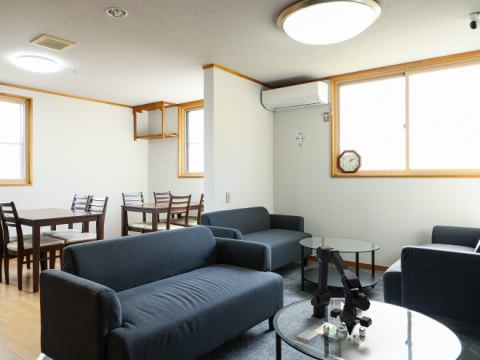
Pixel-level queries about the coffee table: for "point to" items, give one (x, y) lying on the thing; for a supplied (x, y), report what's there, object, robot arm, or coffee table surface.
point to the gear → (342, 330)
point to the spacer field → (341, 334)
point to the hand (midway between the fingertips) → (350, 334)
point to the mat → (332, 334)
